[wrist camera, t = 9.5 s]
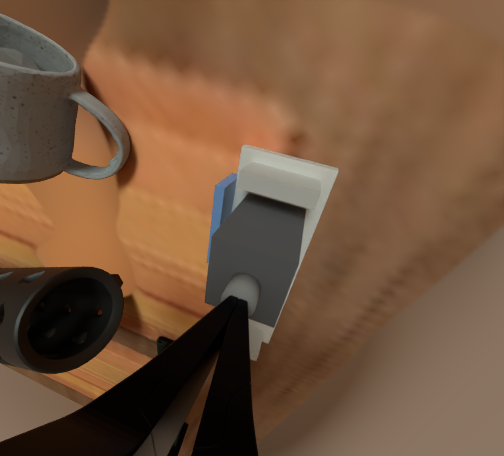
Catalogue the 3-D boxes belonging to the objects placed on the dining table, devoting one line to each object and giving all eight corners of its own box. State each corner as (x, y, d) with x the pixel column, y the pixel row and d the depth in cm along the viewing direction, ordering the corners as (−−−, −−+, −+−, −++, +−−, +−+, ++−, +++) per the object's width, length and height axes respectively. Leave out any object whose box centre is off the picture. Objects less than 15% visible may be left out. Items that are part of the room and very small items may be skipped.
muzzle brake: (144, 307, 27) (58, 403, 18) (14, 299, 36) (-84, 360, 27) (106, 240, 23) (-29, 322, 14) (-29, 251, 32) (-160, 303, 23)
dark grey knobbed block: (287, 261, 16) (269, 349, 10) (238, 245, 17) (194, 320, 11) (306, 209, 14) (296, 282, 8) (248, 192, 15) (199, 250, 9)
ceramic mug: (19, 126, 18) (-142, 137, 12) (9, 9, 14) (-253, -75, 8) (127, 195, 19) (30, 240, 13) (148, 103, 15) (17, 99, 8)
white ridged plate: (269, 336, 22) (262, 368, 20) (211, 314, 23) (197, 342, 21) (337, 168, 13) (342, 183, 10) (237, 142, 14) (216, 149, 11)
